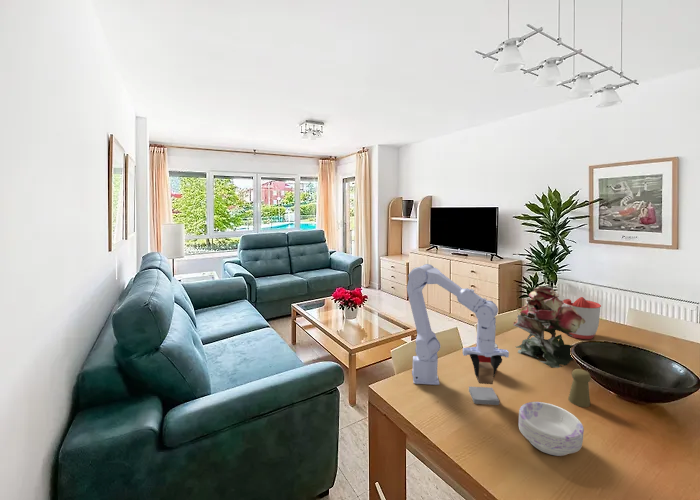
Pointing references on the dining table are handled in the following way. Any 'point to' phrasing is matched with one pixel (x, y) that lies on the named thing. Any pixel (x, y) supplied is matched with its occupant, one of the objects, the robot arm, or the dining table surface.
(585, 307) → the citrus juicer
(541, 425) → the paper bowls
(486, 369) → the walnut block
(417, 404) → the dining table surface
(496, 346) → the canned food
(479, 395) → the slate slab
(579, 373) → the olive green pawn
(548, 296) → the rose bouquet
